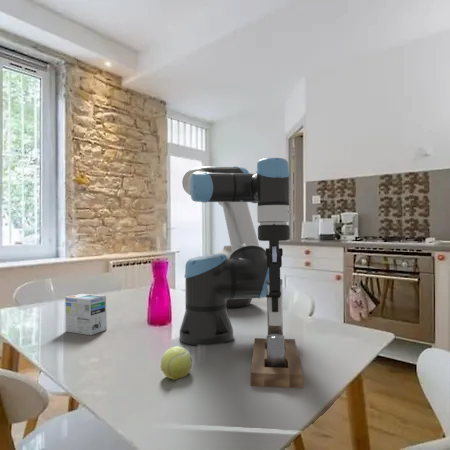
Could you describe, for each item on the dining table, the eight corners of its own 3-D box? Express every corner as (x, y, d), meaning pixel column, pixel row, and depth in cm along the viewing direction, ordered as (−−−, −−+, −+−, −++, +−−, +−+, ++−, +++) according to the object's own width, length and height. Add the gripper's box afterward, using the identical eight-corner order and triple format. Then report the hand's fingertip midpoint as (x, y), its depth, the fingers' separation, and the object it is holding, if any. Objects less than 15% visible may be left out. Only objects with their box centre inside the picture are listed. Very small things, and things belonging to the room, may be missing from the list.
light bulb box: (107, 330, 112) (107, 295, 112) (91, 336, 106) (90, 299, 106) (81, 326, 117) (81, 292, 117) (64, 332, 111) (64, 296, 111)
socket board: (250, 388, 71) (250, 372, 71) (254, 350, 92) (254, 338, 92) (303, 390, 69) (303, 374, 69) (294, 351, 91) (294, 339, 91)
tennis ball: (195, 347, 75) (181, 338, 81) (166, 358, 72) (152, 348, 77) (199, 376, 76) (184, 366, 81) (170, 389, 72) (157, 377, 78)
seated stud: (267, 378, 74) (266, 338, 74) (267, 371, 78) (266, 333, 78) (285, 379, 74) (284, 339, 74) (284, 371, 77) (283, 334, 77)
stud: (267, 336, 85) (266, 280, 85) (267, 332, 88) (266, 278, 88) (283, 336, 84) (282, 280, 84) (282, 332, 88) (282, 278, 88)
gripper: (291, 223, 78) (293, 333, 78) (287, 224, 94) (288, 314, 94) (256, 223, 79) (258, 332, 79) (258, 224, 95) (259, 314, 95)
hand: (274, 322), depth 86 cm, fingers closed on stud, 4 cm apart
